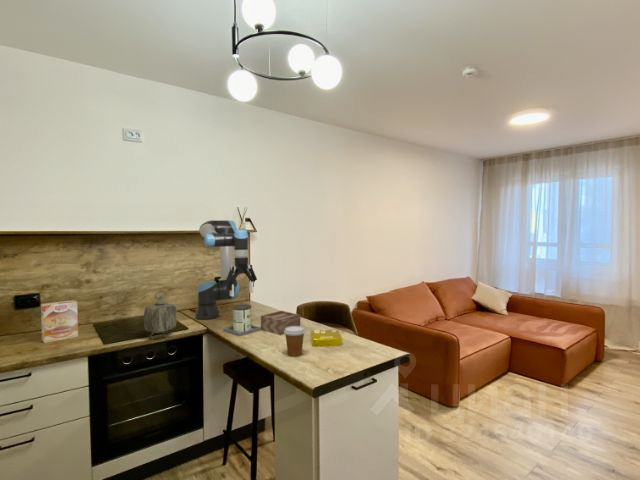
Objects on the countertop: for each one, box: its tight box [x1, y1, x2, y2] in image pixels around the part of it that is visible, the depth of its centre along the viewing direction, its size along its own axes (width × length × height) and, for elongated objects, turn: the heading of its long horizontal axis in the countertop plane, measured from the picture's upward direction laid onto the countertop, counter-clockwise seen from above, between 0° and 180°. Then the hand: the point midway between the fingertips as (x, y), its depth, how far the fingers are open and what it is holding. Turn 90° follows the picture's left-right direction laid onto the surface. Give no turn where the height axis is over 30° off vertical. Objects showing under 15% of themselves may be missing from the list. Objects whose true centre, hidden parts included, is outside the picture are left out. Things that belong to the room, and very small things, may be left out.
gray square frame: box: [222, 324, 262, 337], centre depth 201 cm, size 15×15×2 cm
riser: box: [260, 310, 301, 336], centre depth 203 cm, size 16×16×8 cm
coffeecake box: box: [40, 299, 79, 344], centre depth 188 cm, size 15×7×20 cm, turn 137°
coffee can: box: [232, 304, 252, 333], centre depth 201 cm, size 10×10×14 cm
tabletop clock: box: [143, 290, 178, 340], centre depth 190 cm, size 14×9×25 cm, turn 152°
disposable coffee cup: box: [284, 325, 306, 357], centre depth 162 cm, size 10×10×12 cm
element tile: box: [309, 329, 343, 348], centre depth 180 cm, size 15×15×5 cm
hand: (241, 294), depth 200 cm, fingers open, 13 cm apart
